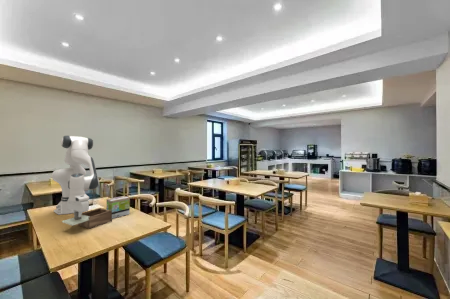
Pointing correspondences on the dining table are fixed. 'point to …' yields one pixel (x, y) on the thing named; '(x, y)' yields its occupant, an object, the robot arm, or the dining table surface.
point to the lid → (76, 219)
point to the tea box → (119, 206)
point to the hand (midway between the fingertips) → (77, 216)
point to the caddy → (96, 218)
